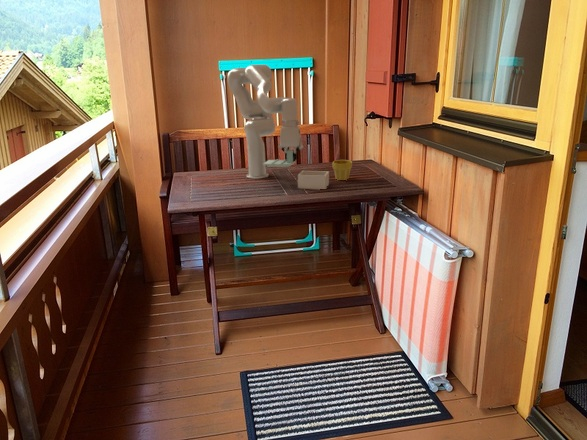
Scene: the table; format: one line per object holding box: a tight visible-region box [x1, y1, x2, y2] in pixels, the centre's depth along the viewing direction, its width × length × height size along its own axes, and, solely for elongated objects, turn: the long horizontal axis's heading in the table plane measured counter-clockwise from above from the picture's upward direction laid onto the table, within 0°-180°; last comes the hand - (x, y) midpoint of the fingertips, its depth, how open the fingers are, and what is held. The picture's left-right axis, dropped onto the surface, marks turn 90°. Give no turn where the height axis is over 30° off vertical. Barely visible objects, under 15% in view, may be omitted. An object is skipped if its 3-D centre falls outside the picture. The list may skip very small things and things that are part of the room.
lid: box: [263, 148, 297, 168], centre depth 234 cm, size 10×15×8 cm
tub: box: [297, 170, 330, 190], centre depth 233 cm, size 10×14×7 cm
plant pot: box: [331, 159, 353, 181], centre depth 245 cm, size 10×10×10 cm
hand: (291, 160), depth 233 cm, fingers closed on lid, 3 cm apart
